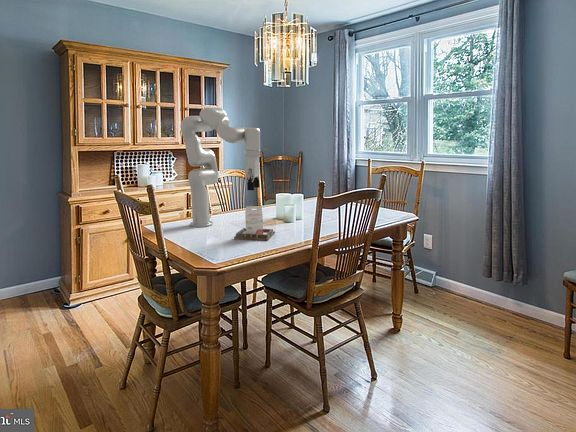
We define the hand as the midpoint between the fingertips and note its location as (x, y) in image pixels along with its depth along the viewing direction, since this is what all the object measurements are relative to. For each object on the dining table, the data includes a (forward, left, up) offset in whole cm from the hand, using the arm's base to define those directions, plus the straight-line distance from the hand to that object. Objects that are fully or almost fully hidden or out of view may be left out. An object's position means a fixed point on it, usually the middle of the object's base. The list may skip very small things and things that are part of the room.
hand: (253, 188), depth 210 cm
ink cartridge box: (0, 0, -23) cm, 23 cm away
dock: (0, 0, -24) cm, 24 cm away
